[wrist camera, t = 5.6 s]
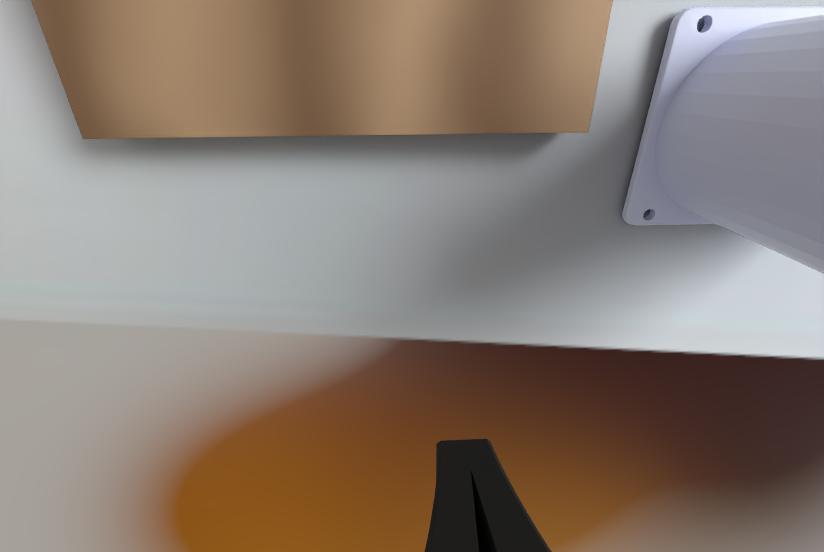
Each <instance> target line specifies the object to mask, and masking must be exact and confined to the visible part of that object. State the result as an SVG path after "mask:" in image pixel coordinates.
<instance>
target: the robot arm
mask: <svg viewBox="0 0 824 552" xmlns="http://www.w3.org/2000/svg"><path fill="white" fill-rule="evenodd" d="M700 18H703V19H704V27H703V29H702V30H701V31H700V32H698V30H697V23H698V21H699V19H700ZM648 209H650V213H649V215H647V216H646V217H643V214H644V212H645V211H647V210H648ZM622 217H623V220H624V221H626V222H627V223H628V224H630V225H689V224H718V225H720V226H722V227H724V228H726V229H728V230H731V231H733V232H735V233H737V234H739V235H741V236H744V237H746V238H748V239H750V240H752V241H754V242H757V243H759V244H761V245H763V246H765V247H767V248H770V249H772V250H774V251H776V252H778V253H780V254H782V255H785V256H787V257H789V258H791V259H793V260H795V261H798V262H800V263H802V264H804V265H806V266H808V267H811V268H813V269H815V270H817V271H819V272H821V273H824V6H791V7H693V8H689V9H684V10H682V11H681V12H679V13H678V14H677V15H676V16H675V17H674V19H673V20H672V23H671V25H670V29H669V33H668V37H667V41H666V45H665V49H664V52H663V56H662V60H661V64H660V68H659V72H658V76H657V80H656V84H655V88H654V92H653V95H652V99H651V103H650V107H649V111H648V115H647V119H646V123H645V127H644V131H643V135H642V138H641V142H640V146H639V150H638V154H637V158H636V162H635V166H634V170H633V174H632V178H631V181H630V185H629V189H628V193H627V197H626V201H625V205H624V209H623V213H622ZM436 456H437V457H436V459H437V460H436V463H437V464H436V466H437V467H436V469H437V470H436V490H435V498H434V504H433V510H432V517H431V523H430V529H429V534H428V539H427V544H426V548H425V552H551V550H550V549H549V547H548V546H547V544H546V543H545V541H544V540H543V538H542V536H541V535H540V533H539V532H538V530H537V528H536V527H535V525H534V523H533V522H532V520H531V518H530V517H529V515H528V513H527V512H526V510H525V508H524V507H523V505H522V503H521V501H520V500H519V498H518V496H517V494H516V492H515V491H514V489H513V487H512V485H511V483H510V481H509V479H508V478H507V476H506V474H505V472H504V470H503V468H502V466H501V464H500V462H499V460H498V458H497V456H496V453H495V451H494V449H493V447H492V444H491V442H490V441H489V440H488V439H472V440H448V441H440V442H439V443H437V452H436Z"/></svg>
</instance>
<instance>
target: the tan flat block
mask: <svg viewBox="0 0 824 552" xmlns="http://www.w3.org/2000/svg"><path fill="white" fill-rule="evenodd" d="M31 1H32V3H33V6H34V9H35V11H36V14H37V17H38V19H39V22H40V25H41V27H42V30H43V33H44V35H45V38H46V41H47V44H48V46H49V49H50V52H51V54H52V57H53V60H54V62H55V65H56V68H57V70H58V73H59V76H60V78H61V81H62V84H63V86H64V89H65V92H66V95H67V97H68V100H69V103H70V105H71V108H72V111H73V113H74V116H75V119H76V121H77V124H78V127H79V129H80V132H81V135H82V137H83V139H102V138H181V137H260V136H339V135H418V134H497V133H575V132H589V127H590V121H591V116H592V110H593V105H594V100H595V94H596V89H597V83H598V78H599V73H600V67H601V62H602V56H603V51H604V45H605V40H606V35H607V29H608V24H609V18H610V13H611V8H612V2H613V0H31Z"/></svg>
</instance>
